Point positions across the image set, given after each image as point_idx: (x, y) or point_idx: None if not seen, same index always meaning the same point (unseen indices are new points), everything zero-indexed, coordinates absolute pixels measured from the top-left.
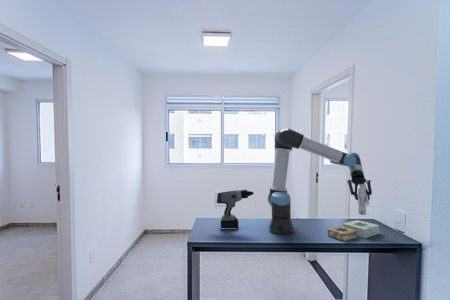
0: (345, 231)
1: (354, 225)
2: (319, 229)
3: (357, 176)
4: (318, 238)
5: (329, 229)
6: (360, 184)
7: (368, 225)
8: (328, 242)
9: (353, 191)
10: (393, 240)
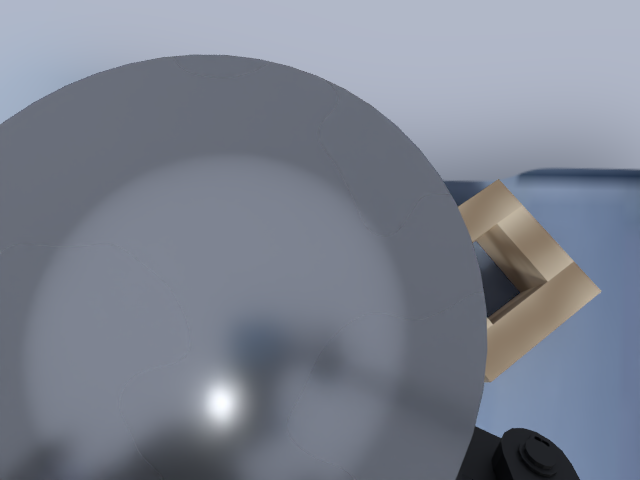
0: (478, 231)
1: None
2: (620, 468)
3: None
4: (631, 252)
5: (588, 280)
6: (370, 154)
7: None
8: (575, 185)
9: (512, 469)
10: None
